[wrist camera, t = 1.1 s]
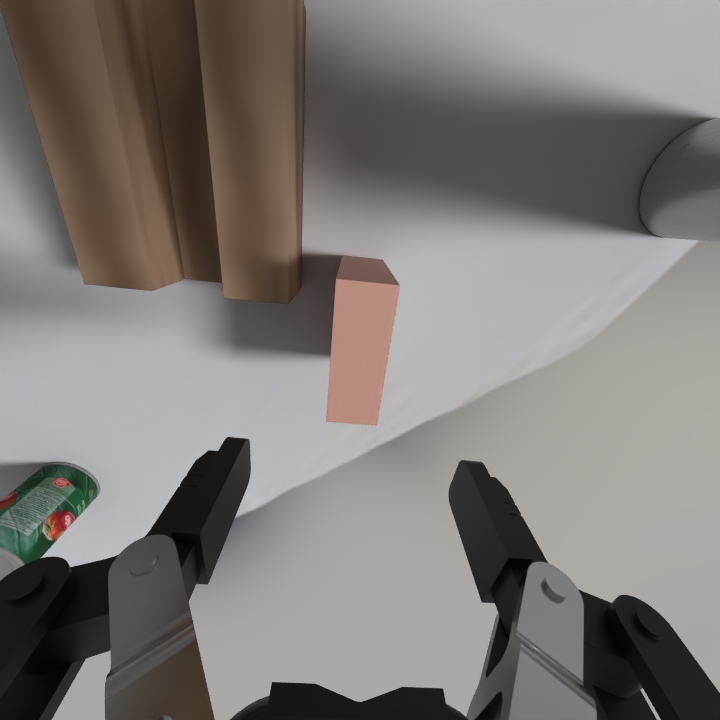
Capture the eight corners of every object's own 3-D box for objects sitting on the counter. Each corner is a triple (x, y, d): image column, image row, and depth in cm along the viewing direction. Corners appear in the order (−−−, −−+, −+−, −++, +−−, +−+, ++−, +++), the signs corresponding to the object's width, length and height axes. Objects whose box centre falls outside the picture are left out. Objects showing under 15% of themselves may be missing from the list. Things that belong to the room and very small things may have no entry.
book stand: (305, 11, 21) (287, -66, 15) (301, 287, 30) (288, 304, 24) (73, -26, 20) (-40, -124, 14) (138, 270, 29) (84, 284, 23)
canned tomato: (31, 458, 40) (-76, 539, 30) (94, 465, 40) (10, 546, 30) (48, 498, 43) (-43, 582, 33) (105, 504, 44) (33, 588, 34)
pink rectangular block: (382, 259, 29) (399, 285, 18) (369, 358, 34) (376, 425, 23) (342, 255, 29) (336, 278, 18) (334, 355, 34) (326, 421, 23)
